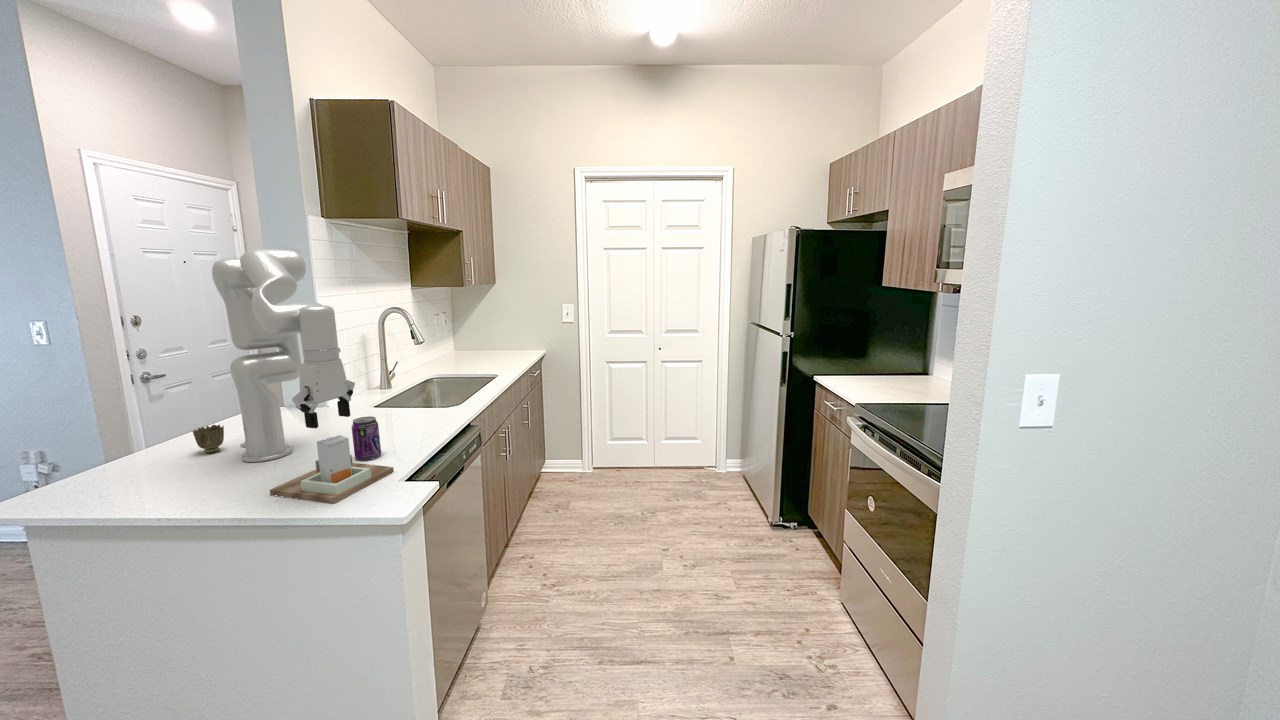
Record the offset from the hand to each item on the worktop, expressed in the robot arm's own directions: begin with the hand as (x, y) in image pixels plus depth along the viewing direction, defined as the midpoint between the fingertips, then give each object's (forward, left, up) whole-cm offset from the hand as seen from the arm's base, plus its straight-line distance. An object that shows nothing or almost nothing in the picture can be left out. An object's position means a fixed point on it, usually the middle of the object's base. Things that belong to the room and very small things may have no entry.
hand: (329, 421), depth 127 cm
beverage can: (-10, +21, -18) cm, 29 cm away
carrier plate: (-4, +3, -18) cm, 19 cm away
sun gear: (-9, +8, -17) cm, 21 cm away
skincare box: (0, 0, -17) cm, 17 cm away
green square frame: (0, 0, -17) cm, 17 cm away
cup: (-62, +13, -18) cm, 66 cm away
